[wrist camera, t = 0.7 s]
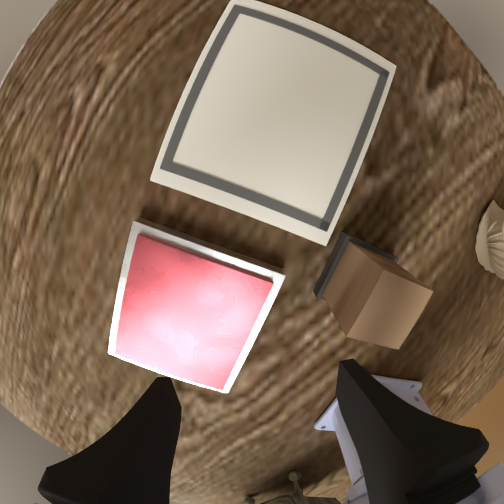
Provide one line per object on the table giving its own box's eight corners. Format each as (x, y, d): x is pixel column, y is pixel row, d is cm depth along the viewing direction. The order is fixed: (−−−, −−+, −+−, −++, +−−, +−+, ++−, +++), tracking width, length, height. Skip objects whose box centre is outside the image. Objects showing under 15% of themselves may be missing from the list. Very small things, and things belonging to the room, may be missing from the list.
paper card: (395, 66, 15) (397, 65, 15) (325, 245, 19) (326, 246, 18) (234, -4, 13) (234, -6, 13) (150, 180, 17) (149, 180, 16)
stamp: (392, 254, 19) (438, 288, 13) (364, 307, 20) (398, 354, 15) (341, 231, 18) (382, 262, 13) (313, 290, 20) (338, 339, 14)
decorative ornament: (479, 281, 21) (514, 305, 16) (465, 202, 18) (511, 217, 13) (502, 259, 20) (537, 279, 15) (490, 183, 18) (534, 193, 13)
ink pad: (283, 268, 19) (286, 278, 17) (227, 383, 22) (227, 396, 20) (139, 216, 17) (131, 222, 16) (113, 344, 20) (106, 356, 19)
